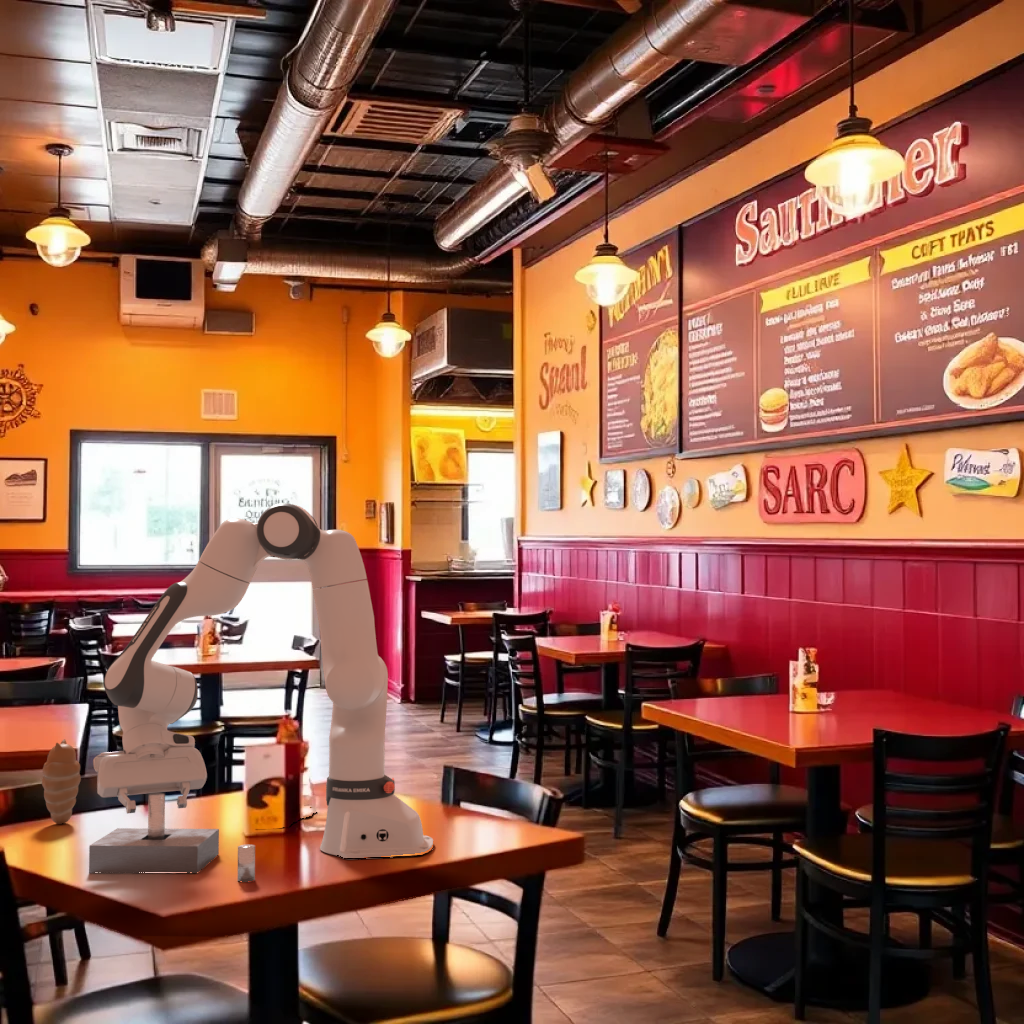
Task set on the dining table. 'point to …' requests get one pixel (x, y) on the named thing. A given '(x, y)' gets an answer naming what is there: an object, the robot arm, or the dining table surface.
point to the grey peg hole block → (153, 851)
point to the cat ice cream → (61, 781)
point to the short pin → (246, 863)
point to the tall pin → (156, 816)
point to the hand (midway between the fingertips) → (157, 808)
